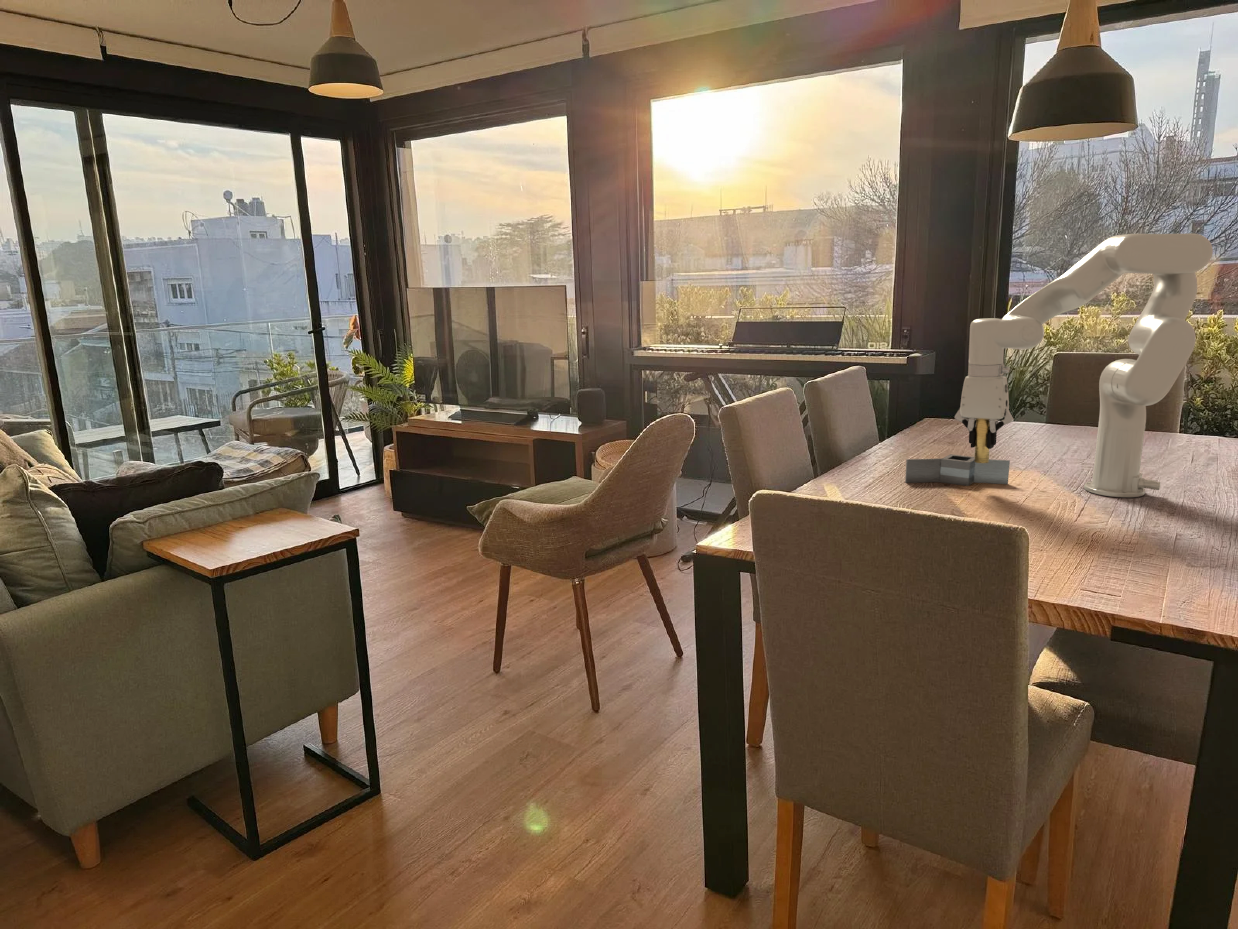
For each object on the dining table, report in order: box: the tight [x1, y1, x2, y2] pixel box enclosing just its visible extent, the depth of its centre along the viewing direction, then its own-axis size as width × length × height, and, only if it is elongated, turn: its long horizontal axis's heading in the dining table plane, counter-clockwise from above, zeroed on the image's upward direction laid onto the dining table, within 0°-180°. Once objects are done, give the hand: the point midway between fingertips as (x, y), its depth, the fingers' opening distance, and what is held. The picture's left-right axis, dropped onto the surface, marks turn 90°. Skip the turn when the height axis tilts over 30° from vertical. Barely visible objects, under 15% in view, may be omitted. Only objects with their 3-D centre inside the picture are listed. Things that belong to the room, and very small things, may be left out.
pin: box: [974, 419, 990, 463], centre depth 202 cm, size 3×3×12 cm
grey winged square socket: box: [904, 453, 1011, 487], centre depth 211 cm, size 21×13×6 cm, turn 51°
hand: (982, 446), depth 203 cm, fingers closed on pin, 3 cm apart
